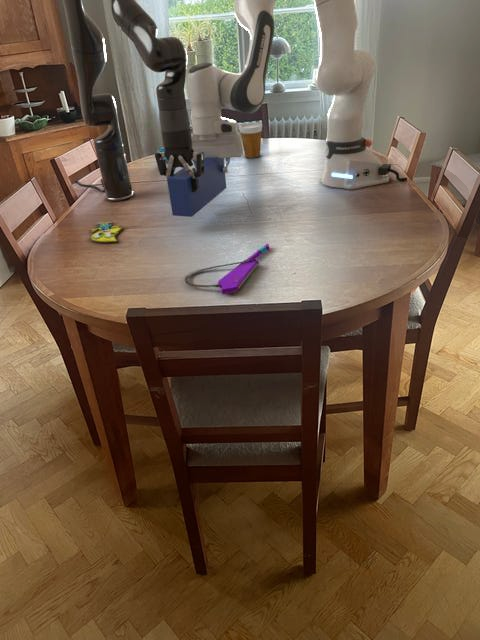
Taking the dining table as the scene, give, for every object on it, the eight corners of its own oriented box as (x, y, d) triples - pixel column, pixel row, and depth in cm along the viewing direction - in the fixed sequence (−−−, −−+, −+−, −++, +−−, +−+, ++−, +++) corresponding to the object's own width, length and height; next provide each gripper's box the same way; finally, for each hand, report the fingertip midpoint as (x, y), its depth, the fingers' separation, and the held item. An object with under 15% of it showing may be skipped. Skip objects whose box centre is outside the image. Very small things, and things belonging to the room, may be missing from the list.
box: (209, 187, 154) (205, 153, 149) (226, 187, 152) (223, 154, 147) (172, 215, 135) (166, 178, 129) (192, 217, 132) (186, 179, 127)
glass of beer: (264, 157, 198) (262, 127, 191) (241, 159, 198) (238, 129, 192) (263, 152, 206) (261, 122, 199) (241, 153, 206) (239, 124, 200)
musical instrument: (182, 302, 106) (271, 286, 103) (179, 293, 105) (270, 277, 102) (195, 260, 127) (269, 246, 124) (193, 253, 126) (268, 239, 123)
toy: (127, 219, 147) (117, 239, 134) (127, 222, 147) (117, 242, 135) (94, 222, 147) (81, 242, 135) (94, 225, 148) (82, 245, 135)
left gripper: (143, 130, 123) (155, 194, 132) (194, 130, 118) (202, 196, 127) (158, 124, 129) (167, 185, 138) (206, 123, 124) (213, 187, 133)
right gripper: (170, 130, 139) (177, 178, 146) (240, 125, 137) (244, 174, 145) (173, 126, 144) (180, 172, 151) (241, 121, 142) (245, 168, 150)
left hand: (184, 190), depth 133 cm, fingers closed on box, 6 cm apart
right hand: (212, 173), depth 148 cm, fingers closed on box, 7 cm apart
